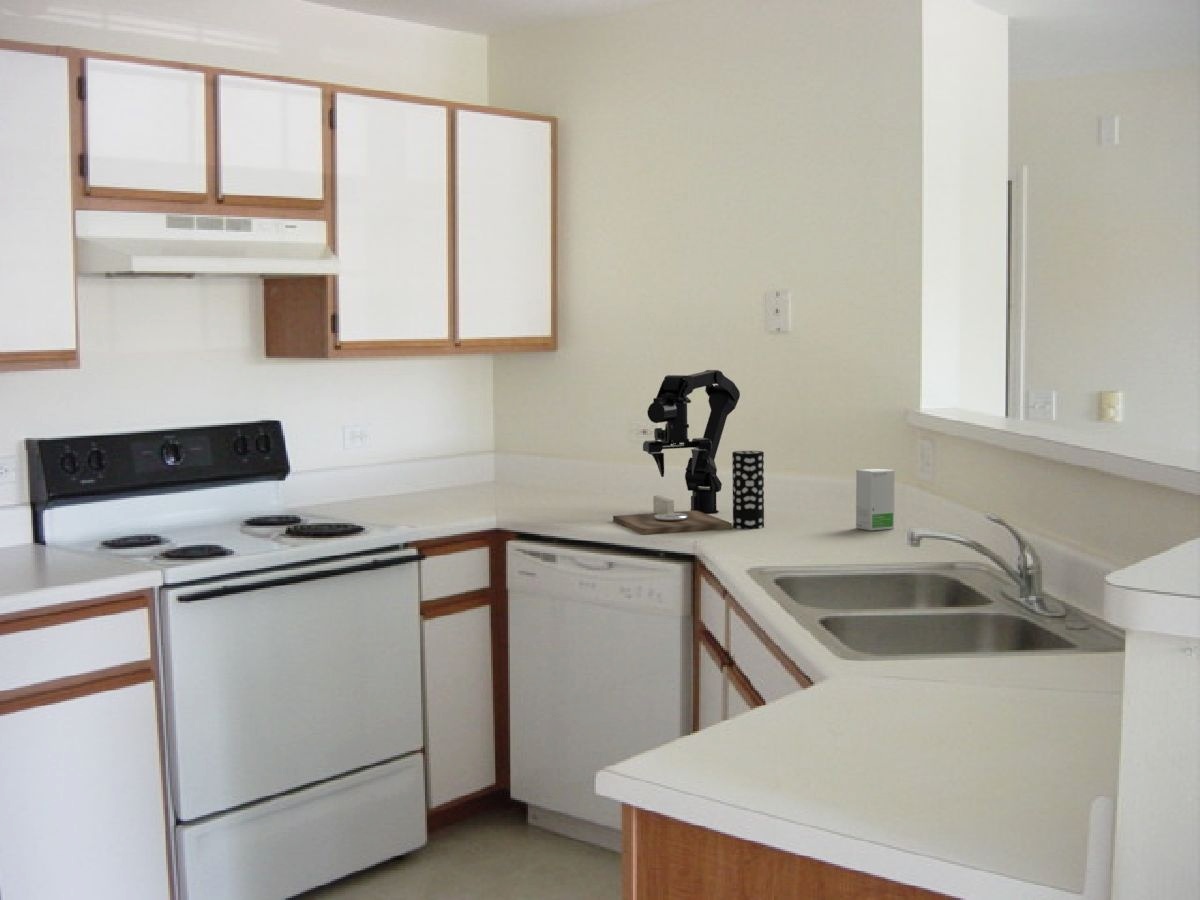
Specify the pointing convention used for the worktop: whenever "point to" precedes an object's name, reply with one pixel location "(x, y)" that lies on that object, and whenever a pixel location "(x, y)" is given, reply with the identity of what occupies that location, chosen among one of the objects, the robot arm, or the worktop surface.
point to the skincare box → (875, 499)
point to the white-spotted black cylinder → (748, 489)
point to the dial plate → (671, 523)
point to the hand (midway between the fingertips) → (677, 475)
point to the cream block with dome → (666, 509)
